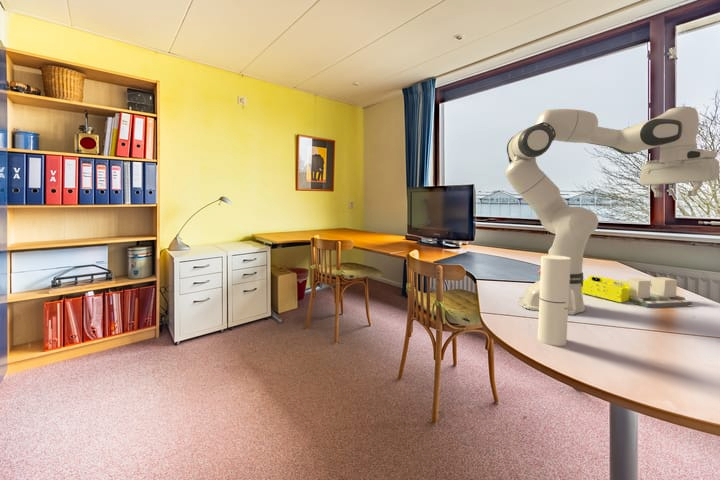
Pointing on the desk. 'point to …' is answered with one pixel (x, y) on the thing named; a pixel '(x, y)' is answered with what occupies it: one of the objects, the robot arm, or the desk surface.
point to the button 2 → (664, 286)
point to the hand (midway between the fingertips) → (674, 196)
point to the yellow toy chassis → (606, 288)
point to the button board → (659, 301)
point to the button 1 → (639, 287)
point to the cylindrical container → (554, 299)
